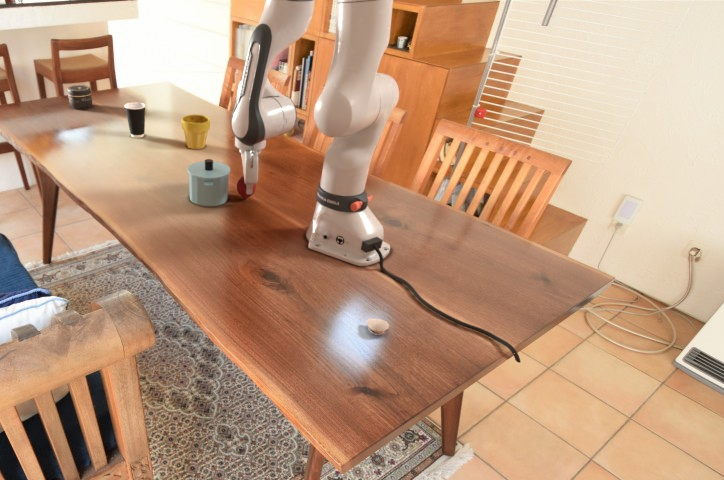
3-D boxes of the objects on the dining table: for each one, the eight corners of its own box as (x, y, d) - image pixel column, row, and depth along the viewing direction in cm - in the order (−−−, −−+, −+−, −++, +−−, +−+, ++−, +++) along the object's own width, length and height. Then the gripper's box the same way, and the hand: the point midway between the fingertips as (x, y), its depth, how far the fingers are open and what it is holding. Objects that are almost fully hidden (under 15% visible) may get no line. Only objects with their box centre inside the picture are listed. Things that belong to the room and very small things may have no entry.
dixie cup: (151, 136, 188) (149, 106, 181) (133, 140, 185) (130, 109, 177) (141, 130, 193) (139, 101, 186) (123, 134, 189) (120, 104, 182)
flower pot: (214, 149, 180) (214, 121, 173) (187, 152, 177) (186, 124, 170) (204, 140, 187) (204, 113, 180) (178, 142, 184) (177, 115, 177)
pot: (227, 186, 155) (227, 160, 150) (228, 210, 142) (229, 183, 137) (190, 186, 155) (189, 159, 149) (188, 210, 142) (188, 182, 136)
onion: (253, 203, 146) (255, 177, 141) (234, 201, 147) (235, 175, 142) (256, 195, 151) (258, 170, 145) (238, 193, 151) (239, 168, 146)
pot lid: (229, 164, 148) (229, 152, 146) (230, 181, 139) (231, 169, 136) (188, 164, 148) (187, 152, 146) (186, 181, 138) (186, 168, 136)
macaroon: (377, 340, 100) (380, 330, 98) (358, 327, 103) (361, 317, 101) (390, 332, 102) (394, 323, 100) (372, 320, 105) (375, 310, 103)
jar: (86, 102, 220) (83, 83, 215) (97, 107, 215) (94, 88, 210) (66, 105, 216) (62, 86, 210) (76, 111, 210) (73, 92, 205)
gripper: (264, 152, 129) (261, 201, 138) (259, 128, 145) (256, 173, 154) (241, 152, 129) (239, 201, 138) (238, 127, 145) (236, 173, 154)
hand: (248, 186), depth 146 cm, fingers open, 8 cm apart
